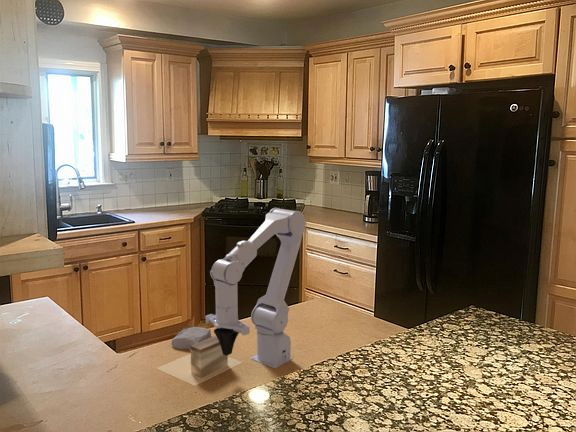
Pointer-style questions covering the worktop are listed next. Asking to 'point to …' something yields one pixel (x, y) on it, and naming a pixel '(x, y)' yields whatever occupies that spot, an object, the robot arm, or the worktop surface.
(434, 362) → the worktop surface
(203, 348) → the maple block
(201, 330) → the stone block
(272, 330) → the robot arm
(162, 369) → the beige square board
